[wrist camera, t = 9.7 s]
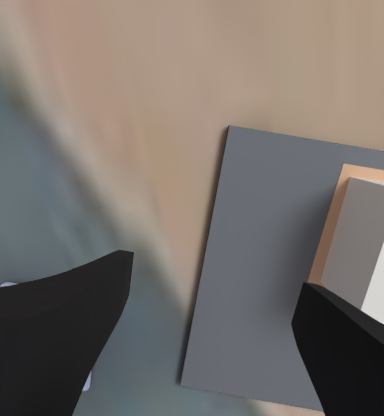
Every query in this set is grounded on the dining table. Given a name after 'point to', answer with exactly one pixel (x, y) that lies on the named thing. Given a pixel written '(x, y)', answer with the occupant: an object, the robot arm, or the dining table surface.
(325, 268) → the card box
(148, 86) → the dining table surface
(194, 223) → the dining table surface
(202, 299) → the mat
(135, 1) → the dining table surface
